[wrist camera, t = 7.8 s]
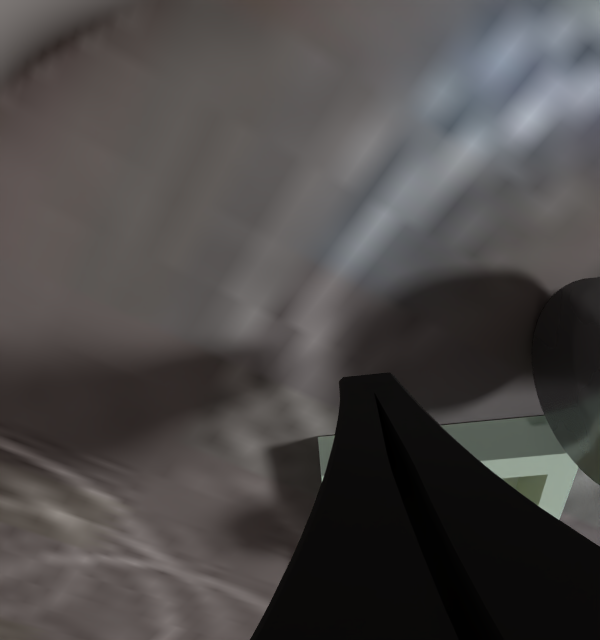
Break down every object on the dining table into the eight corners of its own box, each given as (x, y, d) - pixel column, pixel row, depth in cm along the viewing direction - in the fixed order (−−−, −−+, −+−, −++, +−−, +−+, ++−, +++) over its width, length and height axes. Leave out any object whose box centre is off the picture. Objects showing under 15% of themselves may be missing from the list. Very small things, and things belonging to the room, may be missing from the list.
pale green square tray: (512, 550, 18) (533, 591, 17) (332, 565, 18) (336, 607, 17) (550, 414, 14) (584, 451, 12) (318, 436, 14) (321, 475, 13)
